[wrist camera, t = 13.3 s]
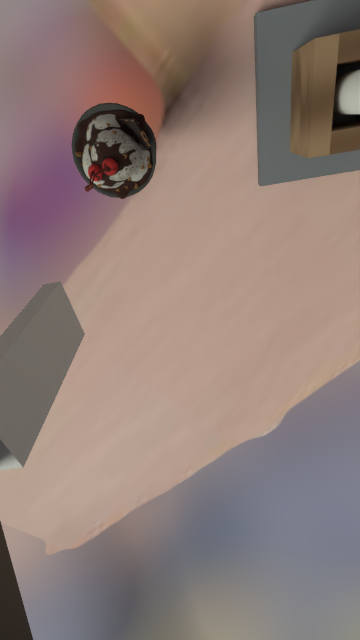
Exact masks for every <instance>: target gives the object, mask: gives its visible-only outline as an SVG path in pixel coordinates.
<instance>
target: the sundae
mask: <svg viewBox="0 0 360 640" xmlns="http://www.w3.org/2000/svg"><path fill="white" fill-rule="evenodd" d="M72 153H73V158H74V162H75V165H76V167H77V169H78V171H79V172H80V173H81V175H82V177H83V178H84V179H85V181H86V182H87V183H88V184H89V185H88V186H86V187H85V190H86V191H89V190H91V189H92V188H94V189H95V190H97V191H98V192H100V193H102V194H104V195H107V196H110V197H117V198H118V197H119V198H121V199H123V198H126V197H128V196H131V195H134V194H136V193H138V192H139V191H141V190H142V189H143V188H144V187H145V186H146V185H147V184H148V183H149V181H150V180H151V178H152V176H153V173H154V169H155V165H156V142H155V137H154V134H153V132H152V130H151V128H150V127H149V126H148V124H147V123H146V121H145V118H144V116H143V115H142V114H138V113H137V112H135V111H134V110H133V109H131V108H128V107H126V106H123V105H120V104H117V103H104V104H98V105H96V106H94V107H92V108H90V109H89V110H87V111H86V112H85V113H84V114H83V115H82V116H81V118H80V120H79V121H78V123H77V125H76V127H75V129H74V133H73V139H72Z"/></svg>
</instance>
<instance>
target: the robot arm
mask: <svg viewBox="0 0 360 640" xmlns="http://www.w3.org/2000/svg"><path fill="white" fill-rule="evenodd" d="M83 337H84V332H83V329H82V327H81V325H80V323H79V321H78V318H77V316H76V314H75V312H74V310H73V308H72V305H71V303H70V301H69V299H68V297H67V295H66V292H65V290H64V288H63V286H62V284H61V282H55V283H50V284H45V285H43V286H42V287H41V288H40V290H39V291H38V292H37V293H36V295H35V296H34V297H33V298H32V299H31V300H30V302H29V303H28V304H27V305H26V306H25V308H24V309H23V310H22V311H21V312H20V313H19V315H18V316H17V317H16V318H15V319H14V321H13V322H12V323H11V324H10V325H9V327H8V328H7V329H6V330H5V331H4V333H3V334H2V335H1V336H0V470H6V469H15V468H23V467H24V465H25V462H26V460H27V458H28V456H29V454H30V452H31V449H32V447H33V445H34V443H35V441H36V439H37V436H38V434H39V432H40V430H41V428H42V426H43V423H44V421H45V419H46V417H47V415H48V413H49V410H50V408H51V406H52V404H53V402H54V400H55V397H56V395H57V393H58V391H59V389H60V387H61V384H62V382H63V380H64V378H65V376H66V374H67V371H68V369H69V367H70V365H71V363H72V360H73V358H74V356H75V354H76V352H77V350H78V347H79V345H80V343H81V341H82V339H83ZM0 640H33V638H32V634H31V630H30V627H29V623H28V619H27V616H26V612H25V609H24V605H23V601H22V598H21V594H20V591H19V587H18V584H17V580H16V576H15V573H14V569H13V565H12V562H11V558H10V555H9V551H8V547H7V544H6V540H5V536H4V533H3V530H2V526H1V522H0Z"/></svg>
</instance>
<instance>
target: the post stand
mask: <svg viewBox="0 0 360 640" xmlns="http://www.w3.org/2000/svg"><path fill="white" fill-rule="evenodd" d="M359 29H360V0H312V1H307V2H303V3H298V4H294V5H289V6H285V7H280V8H276V9H271V10H266V11H262V12H257V13H256V14H255V16H254V36H255V73H256V110H257V147H258V184H259V185H260V186H265V185H271V184H277V183H283V182H289V181H295V180H301V179H307V178H313V177H319V176H325V175H331V174H337V173H343V172H349V171H355V170H360V150H355V151H349V152H343V153H337V154H331V155H325V156H319V157H313V158H306V157H303V156H300V155H297V154H294V153H292V152H290V118H291V77H292V52H293V51H295V50H297V49H298V48H300V47H302V46H303V45H305V44H307V43H308V42H310V41H311V40H313V39H315V38H319V37H324V36H329V35H334V34H339V33H344V32H349V31H354V30H359ZM356 114H360V63H359V64H354V65H348V66H343V67H338V68H337V71H336V83H335V94H334V106H333V118H332V125H335V124H340V123H346V122H352V121H355V119H356Z"/></svg>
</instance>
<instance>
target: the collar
mask: <svg viewBox="0 0 360 640" xmlns="http://www.w3.org/2000/svg"><path fill="white" fill-rule="evenodd" d="M359 63H360V29H359V30H354V31H349V32H344V33H339V34H334V35H329V36H324V37H319V38H315V39H313V40H311V41H310V42H308V43H307V44H305V45H303V46H302V47H300V48H298V49H297V50H295V51H293V52H292V77H291V118H290V152H292V153H294V154H297V155H300V156H303V157H306V158H313V157H319V156H325V155H331V154H337V153H343V152H349V151H355V150H360V114H356V119H355V121H352V122H346V123H340V124H335V125H332V118H333V106H334V94H335V83H336V71H337V68H338V67H343V66H348V65H354V64H359Z"/></svg>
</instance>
